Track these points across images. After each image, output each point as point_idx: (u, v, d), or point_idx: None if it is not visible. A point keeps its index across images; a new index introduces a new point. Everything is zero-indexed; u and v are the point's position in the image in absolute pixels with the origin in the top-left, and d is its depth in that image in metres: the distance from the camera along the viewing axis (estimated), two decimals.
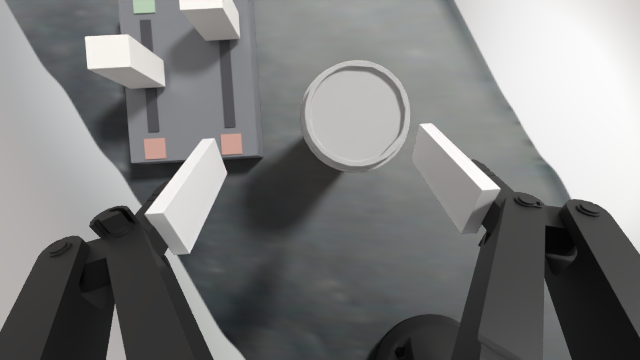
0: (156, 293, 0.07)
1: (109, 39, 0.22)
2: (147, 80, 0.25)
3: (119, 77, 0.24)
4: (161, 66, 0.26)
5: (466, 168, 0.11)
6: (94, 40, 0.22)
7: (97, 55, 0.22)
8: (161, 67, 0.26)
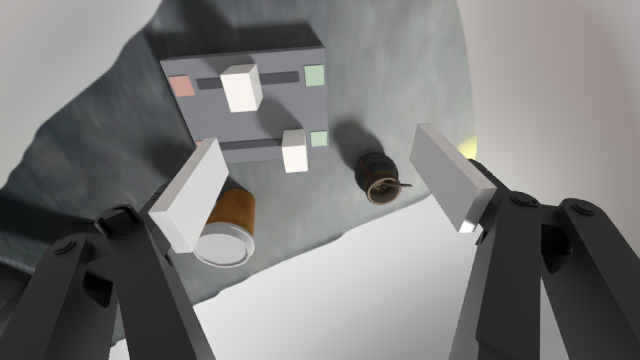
0: (159, 291, 0.07)
1: (250, 95, 0.26)
2: None
3: None
4: None
5: (463, 167, 0.11)
6: (246, 81, 0.25)
7: (234, 84, 0.25)
8: None
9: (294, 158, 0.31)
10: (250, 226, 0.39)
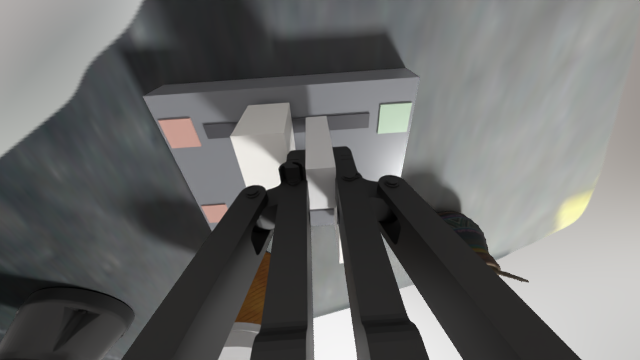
0: (299, 246, 0.08)
1: None
2: None
3: None
4: None
5: (323, 152, 0.12)
6: (279, 146, 0.13)
7: (255, 151, 0.13)
8: None
9: None
10: None
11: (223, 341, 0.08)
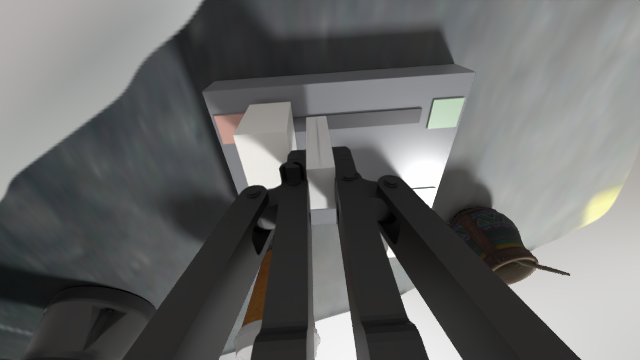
0: (300, 246, 0.08)
1: None
2: None
3: None
4: None
5: (322, 152, 0.12)
6: (281, 144, 0.14)
7: (257, 150, 0.14)
8: None
9: None
10: None
11: (224, 341, 0.08)
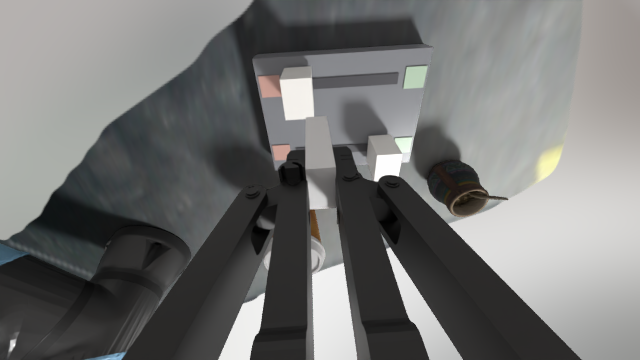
0: (299, 246, 0.08)
1: (309, 102, 0.23)
2: None
3: None
4: None
5: (323, 152, 0.12)
6: (307, 87, 0.22)
7: (293, 90, 0.22)
8: None
9: (386, 168, 0.28)
10: (319, 235, 0.36)
11: (223, 341, 0.08)
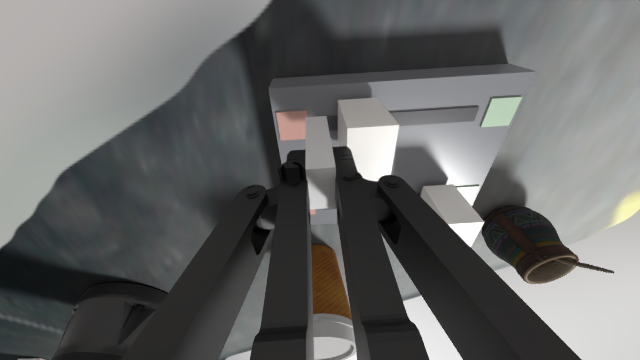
0: (299, 246, 0.08)
1: (387, 158, 0.15)
2: None
3: (342, 132, 0.16)
4: None
5: (323, 152, 0.12)
6: (390, 138, 0.14)
7: (366, 143, 0.14)
8: None
9: None
10: (349, 308, 0.28)
11: (223, 341, 0.08)
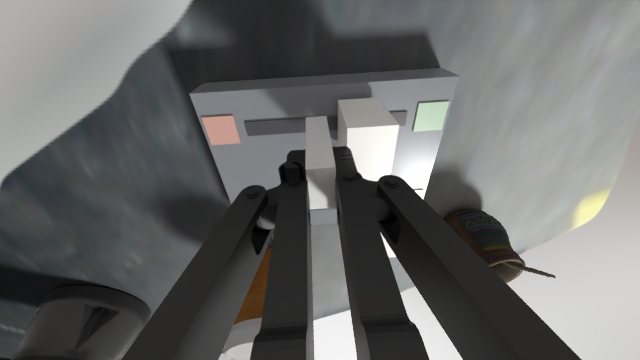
0: (299, 246, 0.08)
1: (387, 158, 0.15)
2: None
3: (342, 132, 0.16)
4: None
5: (323, 152, 0.12)
6: (390, 138, 0.14)
7: (366, 143, 0.14)
8: None
9: None
10: None
11: (223, 341, 0.08)
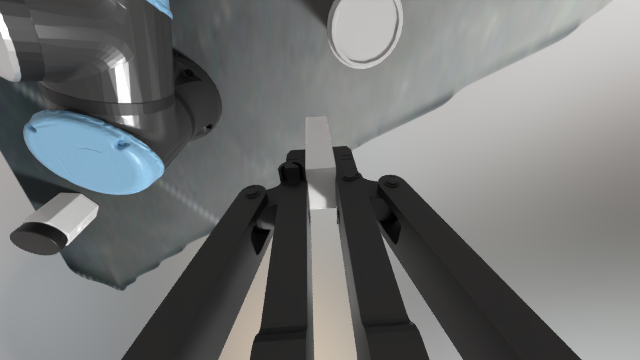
0: (299, 246, 0.08)
1: None
2: None
3: None
4: None
5: (323, 152, 0.12)
6: None
7: None
8: None
9: None
10: None
11: (223, 341, 0.08)
